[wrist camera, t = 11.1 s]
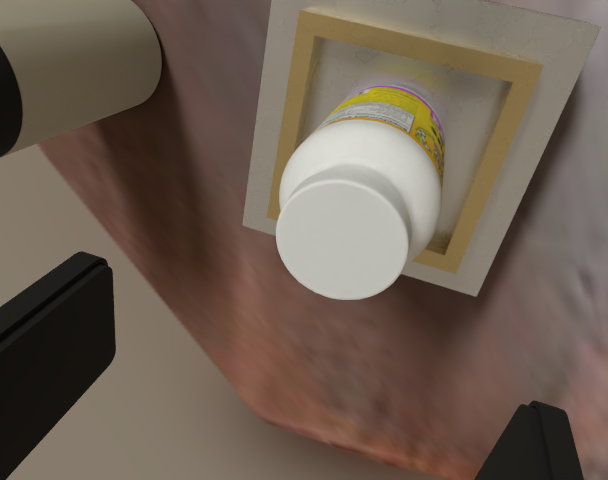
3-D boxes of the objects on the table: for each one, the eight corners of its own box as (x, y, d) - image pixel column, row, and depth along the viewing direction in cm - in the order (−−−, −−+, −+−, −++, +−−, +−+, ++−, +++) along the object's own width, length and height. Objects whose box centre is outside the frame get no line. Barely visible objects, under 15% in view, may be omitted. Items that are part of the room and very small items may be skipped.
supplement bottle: (427, 207, 28) (411, 346, 17) (320, 182, 29) (242, 298, 19) (461, 93, 25) (465, 178, 14) (338, 70, 26) (255, 132, 15)
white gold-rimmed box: (577, 20, 26) (610, 29, 21) (463, 280, 35) (466, 335, 30) (303, -39, 29) (267, -45, 23) (263, 220, 38) (230, 260, 32)
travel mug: (170, 8, 32) (-88, 30, 17) (158, 120, 36) (-57, 219, 21) (66, -26, 33) (-270, -36, 18) (67, 87, 37) (-205, 159, 22)
